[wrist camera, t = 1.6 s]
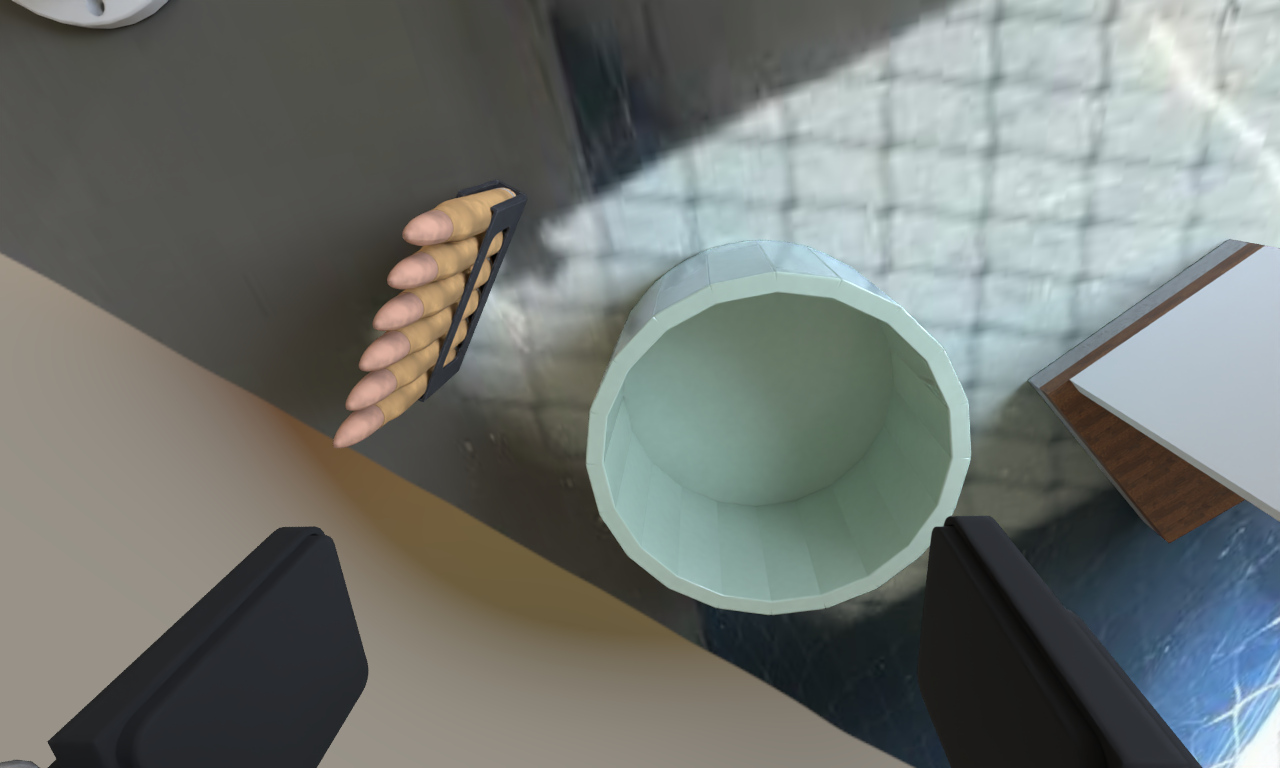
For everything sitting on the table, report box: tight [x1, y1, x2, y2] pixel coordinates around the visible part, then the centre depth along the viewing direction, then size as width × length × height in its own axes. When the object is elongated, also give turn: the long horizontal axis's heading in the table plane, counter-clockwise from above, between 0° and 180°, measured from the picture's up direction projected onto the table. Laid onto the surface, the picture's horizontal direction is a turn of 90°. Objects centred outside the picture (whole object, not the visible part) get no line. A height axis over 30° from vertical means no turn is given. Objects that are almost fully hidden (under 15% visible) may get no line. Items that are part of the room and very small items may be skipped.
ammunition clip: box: [333, 180, 527, 448], centre depth 29 cm, size 11×2×12 cm, turn 154°
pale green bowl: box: [585, 240, 971, 615], centre depth 31 cm, size 16×16×9 cm
